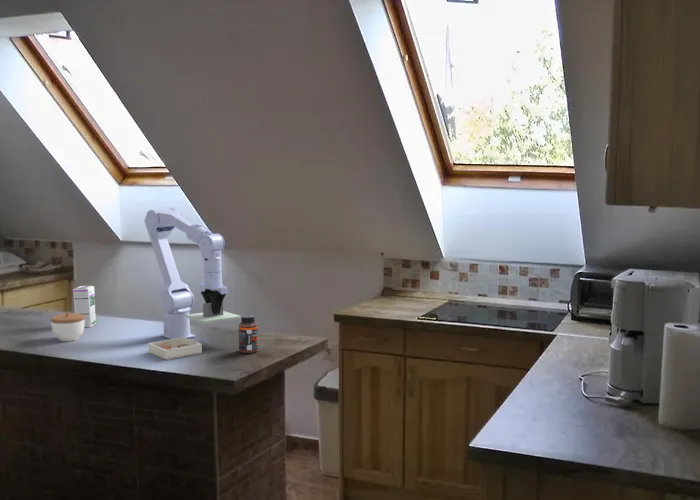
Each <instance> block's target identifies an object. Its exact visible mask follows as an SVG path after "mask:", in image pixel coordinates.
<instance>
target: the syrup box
mask: <svg viewBox="0 0 700 500" xmlns="http://www.w3.org/2000/svg"><path fill="white" fill-rule="evenodd" d="M72 292H73V293H72V294H73V307H74V314H83V315H84V316H85V325H84V329H85V327H87V328H92V327H94V326H95V325H97V324H98V322H97V320H98V319H97V309H96V307H97V306H96V295H95V294H96V293H95V286H94V285H79V286H78V287H77V286H76V287H75V288H73V290H72Z"/></svg>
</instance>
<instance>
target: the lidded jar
mask: <svg viewBox="0 0 700 500" xmlns="http://www.w3.org/2000/svg"><path fill="white" fill-rule="evenodd" d="M50 322H51V326H50V327H51V330H52V333H53V335H54V336H55V338H57V339H58V340H59V341H60V342H72V340H74V341H77V340H79V339H80V337H81V336H82V335H83V333H84V331H85V328H84V325H85V316H84V315H83V314H75V313H70V312H69V311H66V312H65V313H63V314H57V315H53V316H51V318H50ZM78 338H79V339H78ZM76 339H77V340H76Z"/></svg>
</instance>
